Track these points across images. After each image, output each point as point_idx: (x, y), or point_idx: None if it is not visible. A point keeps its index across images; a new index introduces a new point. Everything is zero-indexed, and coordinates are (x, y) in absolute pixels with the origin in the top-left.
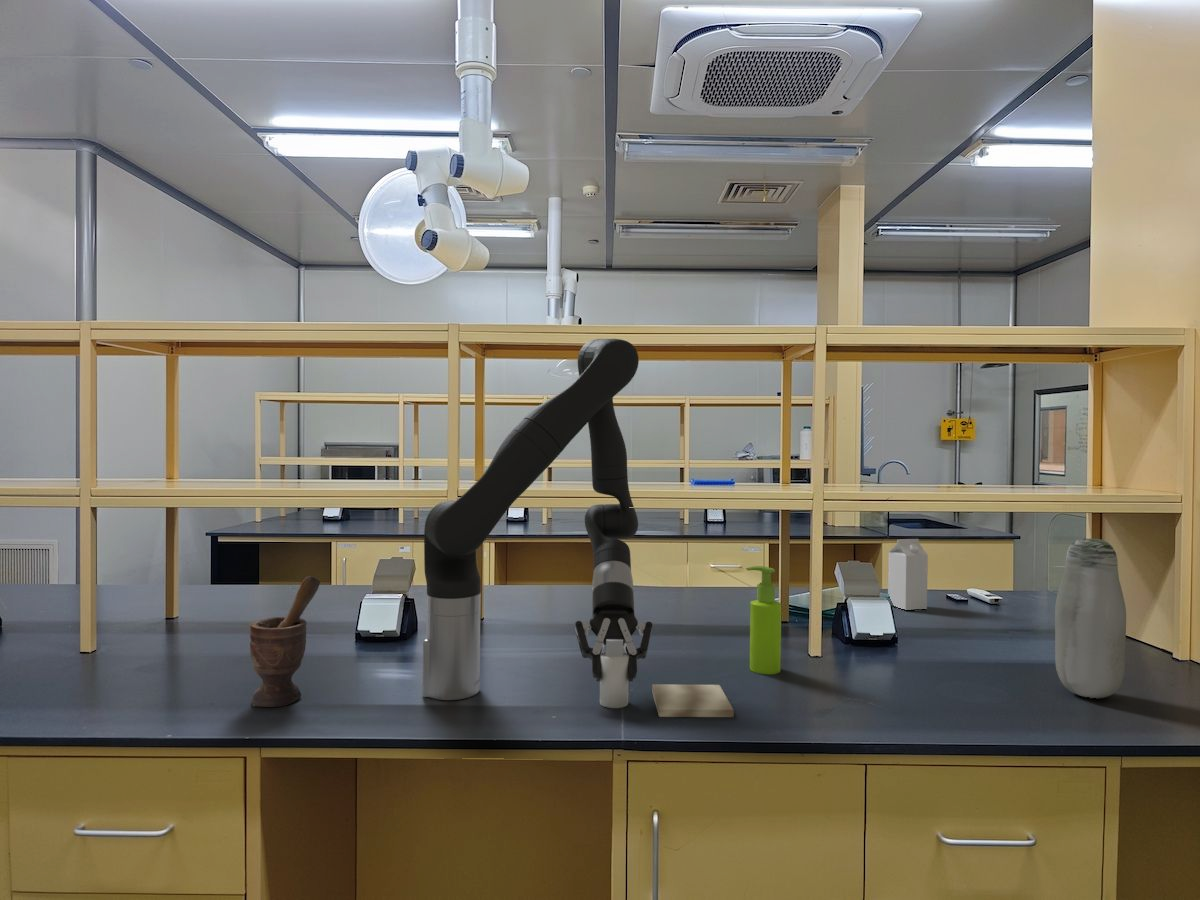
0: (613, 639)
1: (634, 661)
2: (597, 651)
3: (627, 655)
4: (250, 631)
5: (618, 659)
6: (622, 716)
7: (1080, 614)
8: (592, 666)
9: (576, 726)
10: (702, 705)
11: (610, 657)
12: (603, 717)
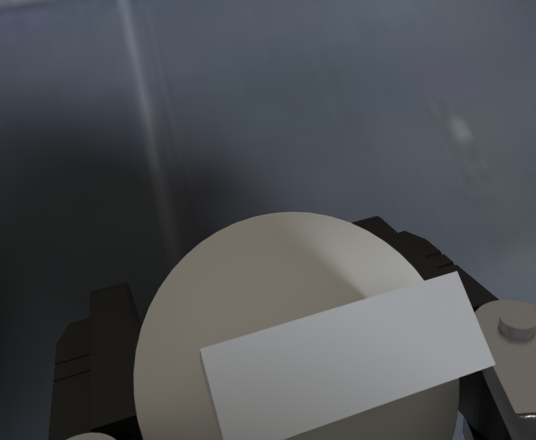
0: (386, 395)
1: (75, 413)
2: (501, 325)
3: (154, 420)
4: None
5: (224, 237)
6: (165, 206)
7: None
8: (449, 261)
9: (333, 56)
10: None
11: (324, 284)
12: (252, 172)
